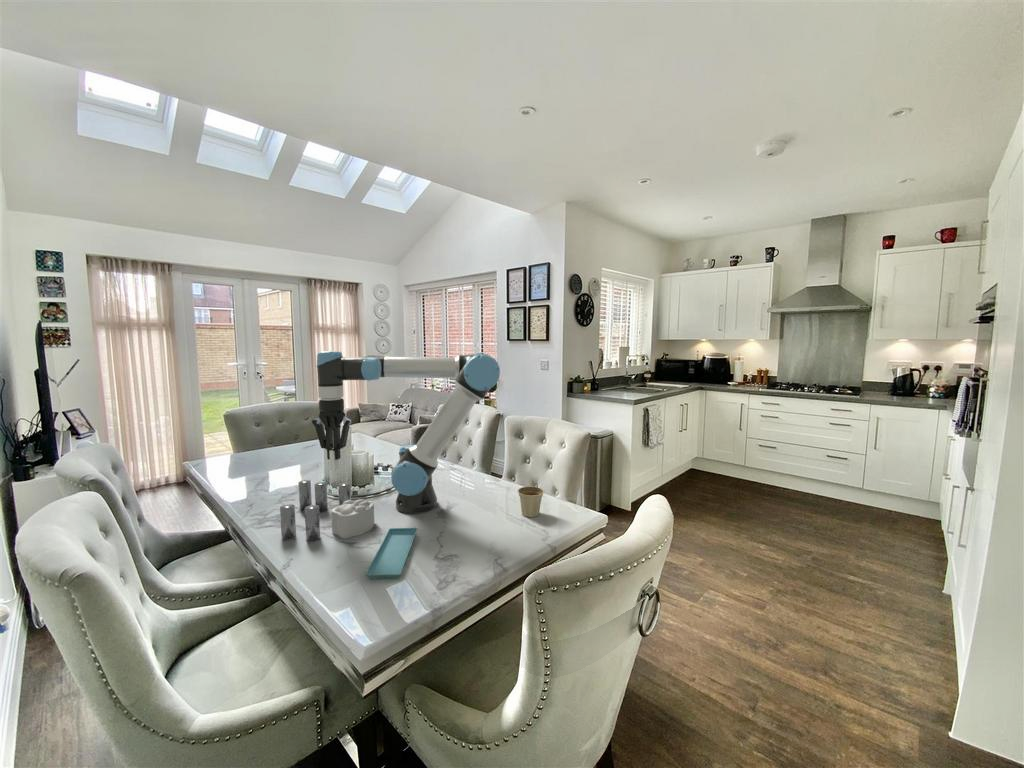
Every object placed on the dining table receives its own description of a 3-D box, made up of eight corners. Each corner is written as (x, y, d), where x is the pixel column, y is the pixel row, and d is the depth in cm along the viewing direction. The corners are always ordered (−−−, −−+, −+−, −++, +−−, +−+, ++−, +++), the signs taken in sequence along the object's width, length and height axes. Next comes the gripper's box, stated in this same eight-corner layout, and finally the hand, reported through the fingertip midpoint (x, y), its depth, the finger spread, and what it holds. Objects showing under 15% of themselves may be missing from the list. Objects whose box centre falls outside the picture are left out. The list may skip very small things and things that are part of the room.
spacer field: (355, 507, 153) (354, 481, 152) (315, 541, 127) (314, 510, 126) (303, 505, 155) (302, 479, 154) (254, 538, 129) (252, 507, 128)
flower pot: (549, 513, 148) (549, 490, 148) (532, 522, 142) (532, 497, 141) (529, 506, 155) (529, 484, 154) (512, 514, 148) (512, 490, 147)
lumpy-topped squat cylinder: (328, 530, 135) (327, 505, 134) (364, 517, 145) (363, 493, 144) (345, 540, 128) (344, 513, 128) (381, 525, 139) (381, 500, 138)
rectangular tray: (400, 581, 107) (400, 572, 107) (364, 582, 106) (364, 573, 106) (418, 535, 133) (418, 527, 133) (389, 535, 132) (389, 528, 132)
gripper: (355, 397, 139) (358, 466, 141) (318, 396, 140) (321, 465, 142) (344, 400, 131) (347, 472, 133) (305, 399, 132) (309, 471, 135)
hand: (334, 468), depth 138 cm, fingers closed
